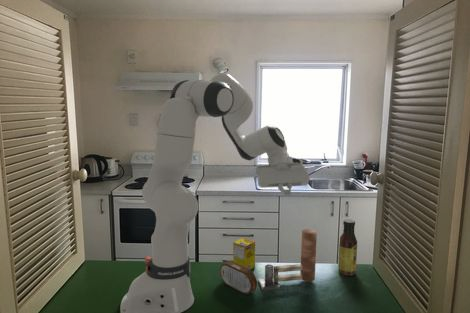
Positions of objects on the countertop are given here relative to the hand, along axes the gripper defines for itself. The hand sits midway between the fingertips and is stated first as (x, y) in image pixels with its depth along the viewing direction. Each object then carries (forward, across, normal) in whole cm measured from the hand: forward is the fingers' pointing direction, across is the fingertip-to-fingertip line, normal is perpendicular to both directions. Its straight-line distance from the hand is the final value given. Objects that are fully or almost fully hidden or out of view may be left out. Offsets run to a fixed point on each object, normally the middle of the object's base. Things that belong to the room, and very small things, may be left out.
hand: (287, 195), depth 132 cm
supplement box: (+21, -17, +18) cm, 32 cm away
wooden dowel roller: (+29, -2, +7) cm, 30 cm away
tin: (+30, -22, +9) cm, 38 cm away
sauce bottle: (+28, +20, +11) cm, 36 cm away
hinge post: (+30, -11, +8) cm, 33 cm away
